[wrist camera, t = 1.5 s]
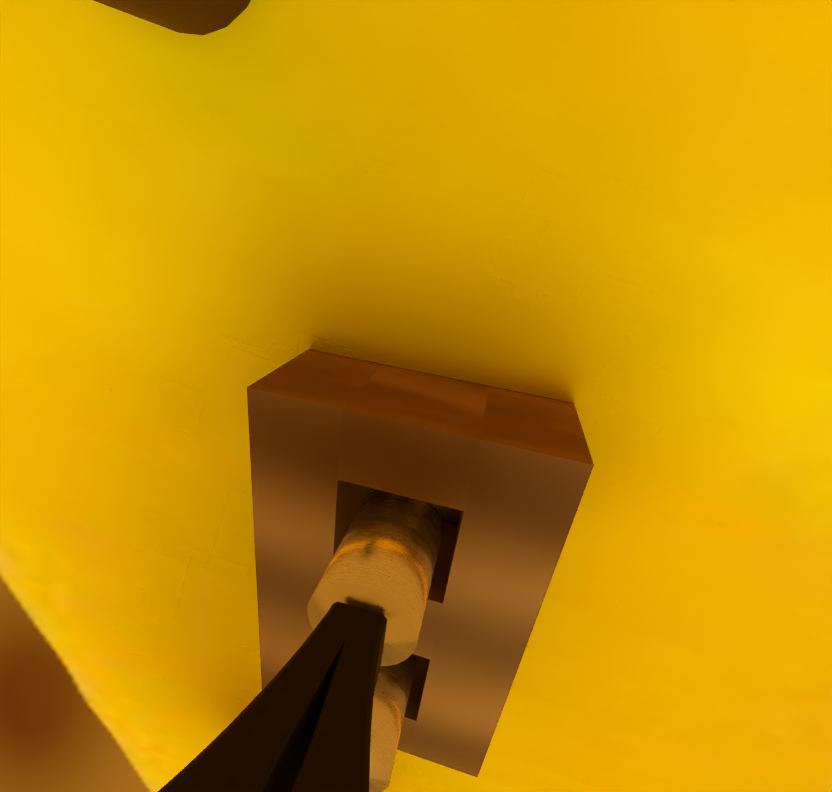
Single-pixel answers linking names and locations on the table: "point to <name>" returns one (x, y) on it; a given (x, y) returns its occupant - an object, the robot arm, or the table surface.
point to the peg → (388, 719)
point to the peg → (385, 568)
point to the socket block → (426, 481)
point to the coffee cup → (183, 13)
